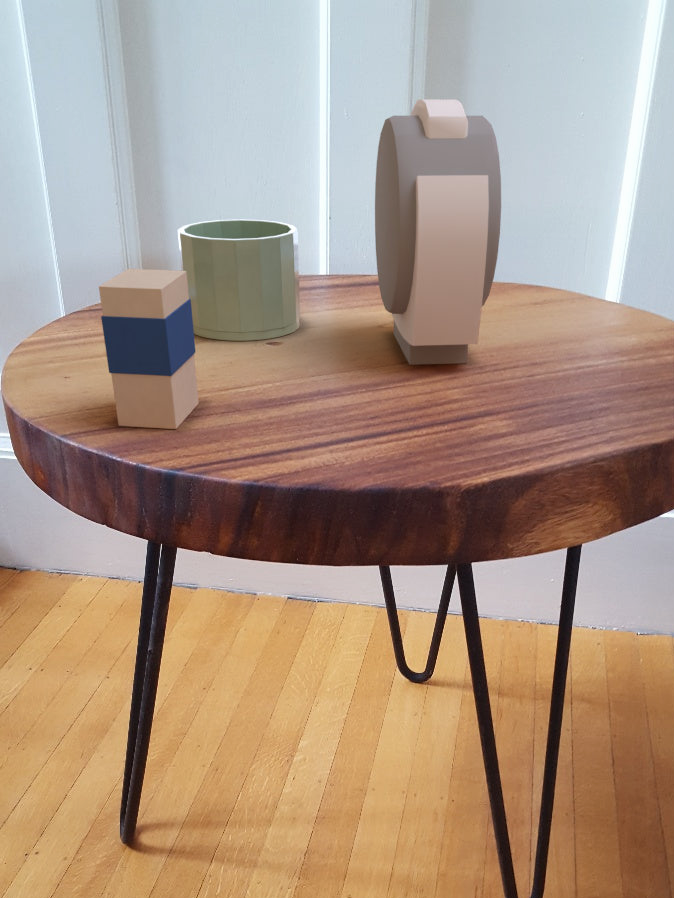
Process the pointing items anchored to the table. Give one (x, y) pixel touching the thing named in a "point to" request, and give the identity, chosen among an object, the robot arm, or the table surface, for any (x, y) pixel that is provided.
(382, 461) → the table surface
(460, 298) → the alarm clock
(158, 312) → the eraser
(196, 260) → the cup
